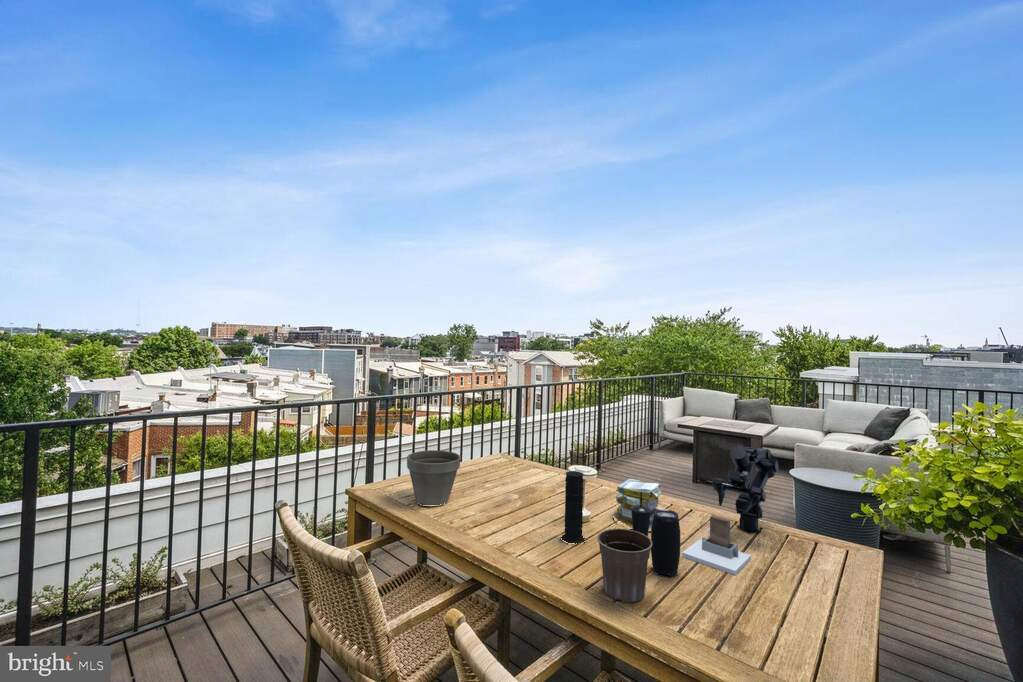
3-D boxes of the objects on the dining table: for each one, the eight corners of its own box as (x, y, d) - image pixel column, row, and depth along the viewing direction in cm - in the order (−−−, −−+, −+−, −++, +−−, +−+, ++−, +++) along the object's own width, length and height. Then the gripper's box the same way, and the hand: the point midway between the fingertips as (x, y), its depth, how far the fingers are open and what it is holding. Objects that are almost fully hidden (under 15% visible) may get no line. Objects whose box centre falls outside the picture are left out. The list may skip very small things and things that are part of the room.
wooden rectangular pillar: (712, 547, 167) (713, 514, 167) (729, 552, 163) (730, 519, 163) (708, 550, 164) (709, 517, 164) (725, 556, 160) (726, 522, 160)
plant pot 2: (620, 613, 127) (621, 555, 128) (585, 585, 142) (586, 533, 142) (663, 599, 135) (664, 544, 135) (626, 574, 149) (626, 525, 149)
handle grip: (582, 547, 168) (589, 537, 177) (583, 476, 168) (590, 469, 178) (556, 542, 173) (565, 532, 182) (558, 472, 173) (566, 466, 182)
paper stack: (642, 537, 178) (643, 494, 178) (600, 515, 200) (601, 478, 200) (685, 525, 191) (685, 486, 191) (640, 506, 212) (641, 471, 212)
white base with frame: (700, 543, 174) (700, 531, 174) (750, 559, 161) (751, 546, 161) (682, 556, 162) (682, 544, 162) (735, 575, 150) (735, 561, 150)
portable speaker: (645, 567, 154) (646, 509, 154) (667, 563, 157) (668, 506, 157) (662, 580, 146) (663, 519, 146) (685, 575, 149) (686, 515, 149)
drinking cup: (651, 550, 167) (652, 495, 167) (630, 548, 169) (631, 494, 169) (649, 541, 175) (650, 489, 175) (629, 539, 176) (630, 487, 176)
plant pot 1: (470, 500, 217) (471, 454, 217) (435, 516, 196) (436, 465, 196) (431, 490, 230) (432, 447, 230) (394, 504, 209) (395, 457, 209)
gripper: (713, 457, 184) (702, 491, 176) (764, 467, 171) (754, 503, 163) (720, 473, 190) (709, 506, 182) (769, 483, 177) (760, 519, 169)
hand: (732, 508), depth 174 cm, fingers open, 9 cm apart
